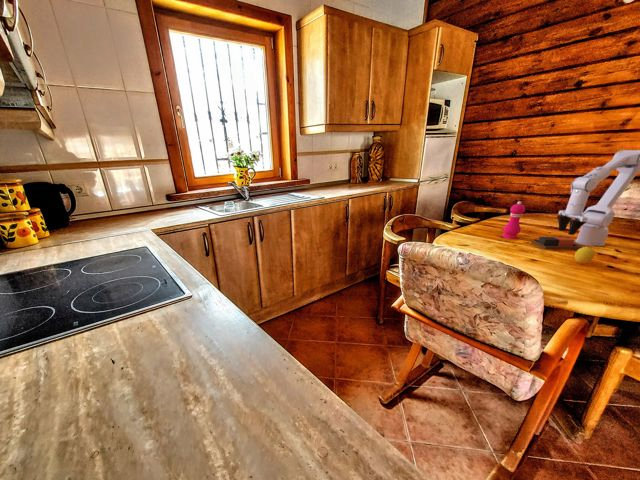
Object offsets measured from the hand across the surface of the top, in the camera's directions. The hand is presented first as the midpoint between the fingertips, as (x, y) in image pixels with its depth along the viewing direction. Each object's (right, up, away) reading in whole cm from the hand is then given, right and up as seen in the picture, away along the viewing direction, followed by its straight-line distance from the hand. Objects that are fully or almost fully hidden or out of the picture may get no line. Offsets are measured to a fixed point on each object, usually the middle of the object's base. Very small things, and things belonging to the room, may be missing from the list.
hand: (566, 232), depth 133 cm
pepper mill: (-13, -1, +18) cm, 22 cm away
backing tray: (-2, -7, +3) cm, 8 cm away
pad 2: (0, -6, +3) cm, 7 cm away
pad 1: (-6, -6, +4) cm, 9 cm away
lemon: (-10, -16, -16) cm, 24 cm away
